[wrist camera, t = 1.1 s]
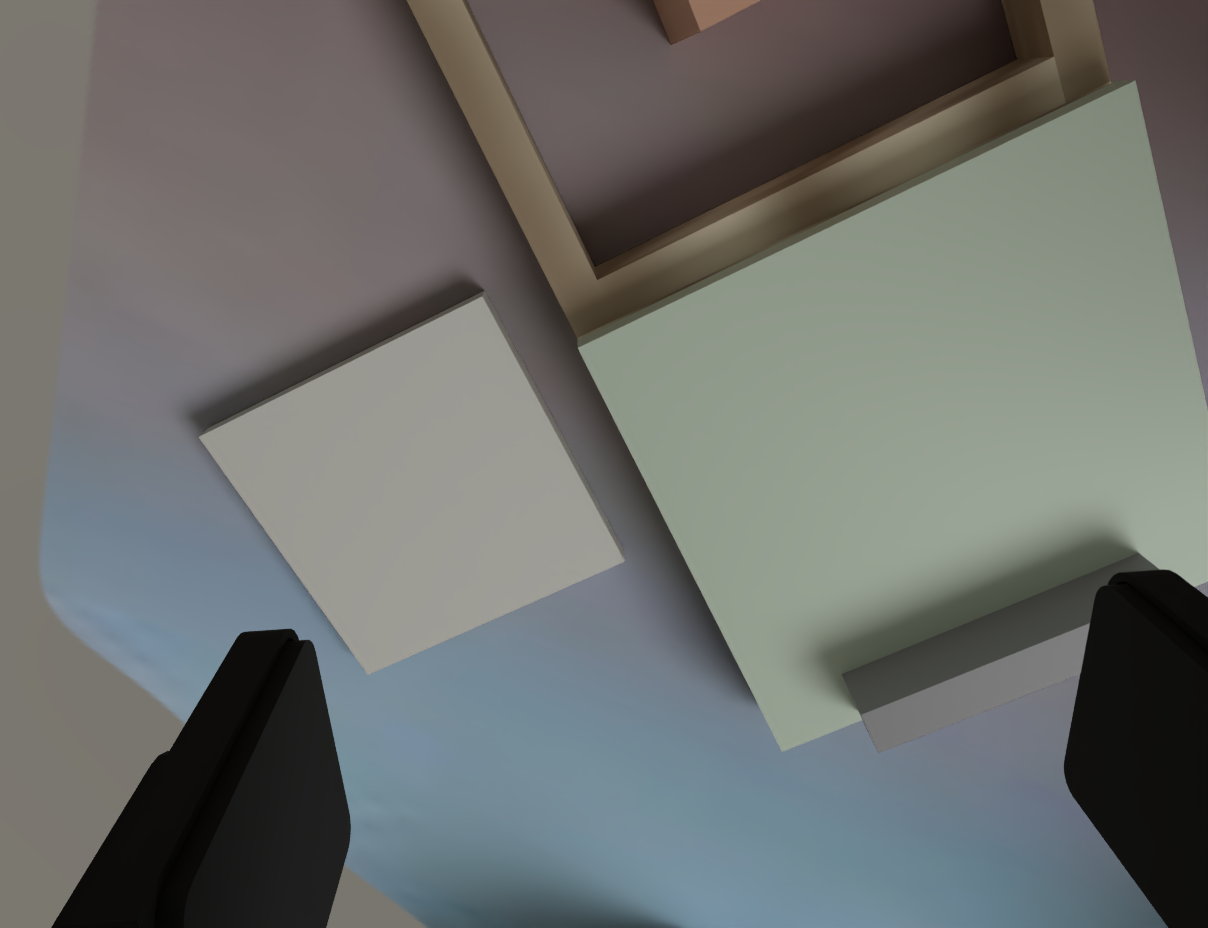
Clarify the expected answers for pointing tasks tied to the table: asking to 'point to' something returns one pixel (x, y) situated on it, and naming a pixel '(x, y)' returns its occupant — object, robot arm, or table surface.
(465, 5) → the well frame
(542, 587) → the grey mat
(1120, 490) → the sliding lid
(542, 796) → the table surface
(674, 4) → the terracotta block
